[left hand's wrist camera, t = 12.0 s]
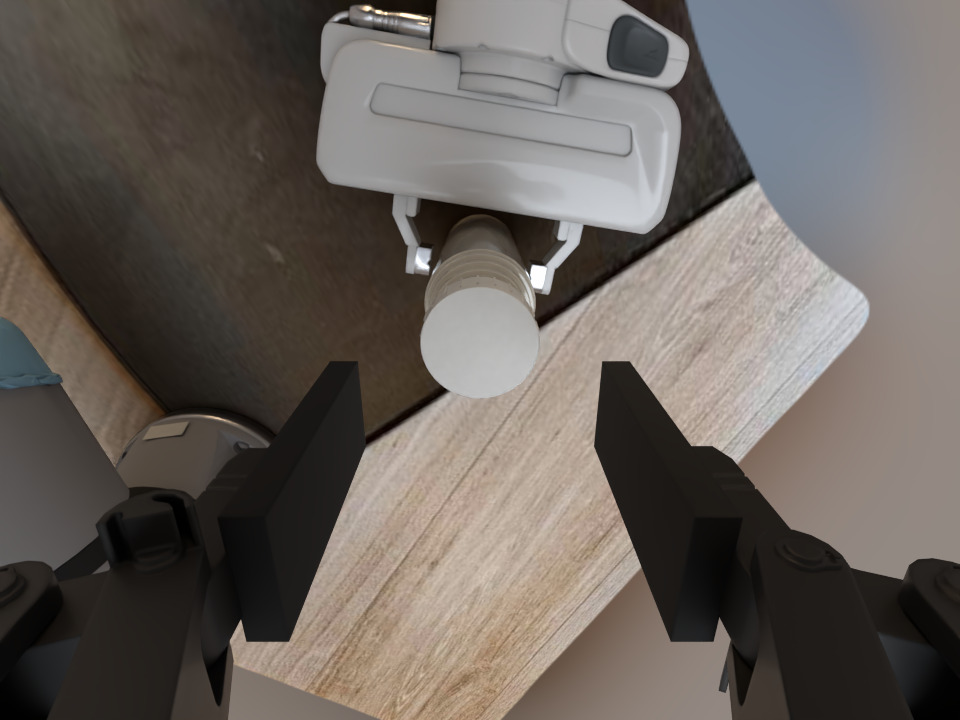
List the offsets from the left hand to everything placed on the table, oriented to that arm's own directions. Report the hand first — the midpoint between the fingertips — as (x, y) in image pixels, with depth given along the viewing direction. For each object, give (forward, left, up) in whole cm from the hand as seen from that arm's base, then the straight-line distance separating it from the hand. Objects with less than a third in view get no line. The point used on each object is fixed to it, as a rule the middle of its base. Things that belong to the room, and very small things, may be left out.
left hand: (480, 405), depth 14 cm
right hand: (-1, 0, -19) cm, 19 cm away
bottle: (0, 0, -25) cm, 25 cm away
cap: (0, 0, -5) cm, 5 cm away
